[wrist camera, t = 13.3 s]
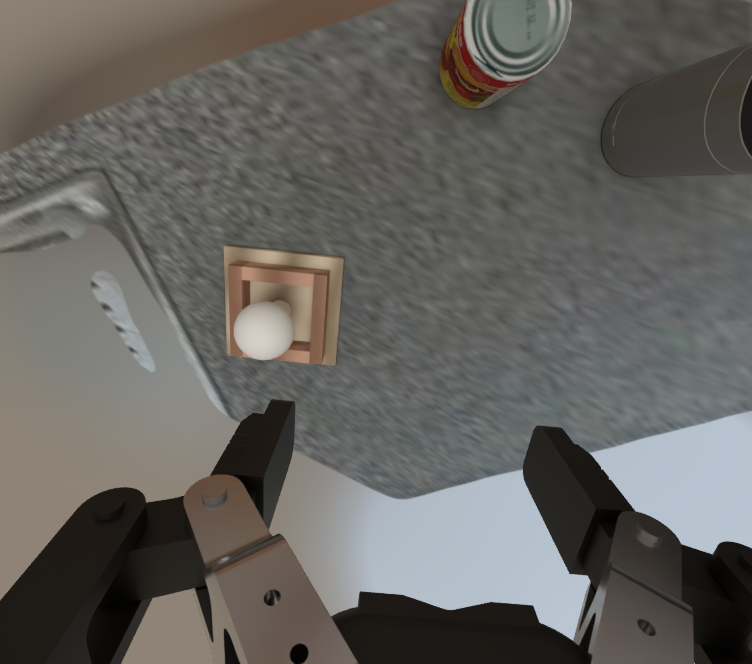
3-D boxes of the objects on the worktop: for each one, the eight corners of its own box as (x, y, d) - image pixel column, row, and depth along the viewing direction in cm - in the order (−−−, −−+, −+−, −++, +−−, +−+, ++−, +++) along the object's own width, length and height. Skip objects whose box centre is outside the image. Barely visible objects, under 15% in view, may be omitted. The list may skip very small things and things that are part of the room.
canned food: (482, -3, 38) (526, -81, 27) (532, 63, 40) (593, 16, 28) (423, 66, 40) (441, 20, 29) (473, 126, 42) (509, 105, 30)
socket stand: (344, 257, 47) (341, 263, 43) (336, 362, 52) (332, 376, 48) (226, 244, 46) (213, 250, 42) (229, 352, 51) (218, 365, 47)
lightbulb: (247, 300, 48) (211, 332, 37) (287, 274, 46) (261, 299, 36) (277, 339, 49) (251, 380, 39) (316, 315, 48) (300, 350, 38)
